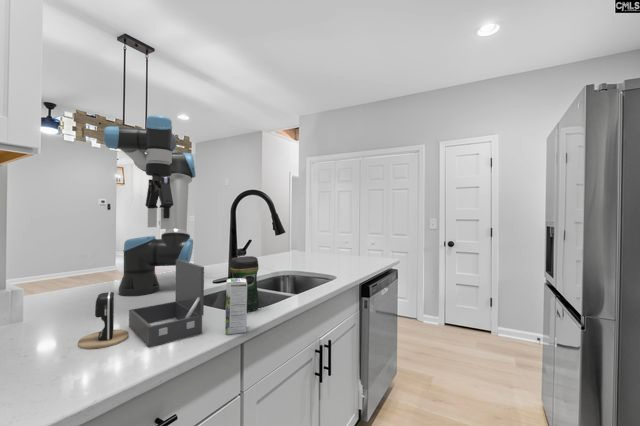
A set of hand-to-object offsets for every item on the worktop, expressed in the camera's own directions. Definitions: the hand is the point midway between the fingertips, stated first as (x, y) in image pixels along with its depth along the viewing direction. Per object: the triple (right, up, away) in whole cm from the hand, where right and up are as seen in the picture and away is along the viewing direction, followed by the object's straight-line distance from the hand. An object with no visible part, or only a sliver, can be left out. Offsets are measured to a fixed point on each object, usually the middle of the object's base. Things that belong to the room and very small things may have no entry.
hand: (158, 228), depth 105 cm
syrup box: (+29, -29, -13) cm, 43 cm away
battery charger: (-3, -28, -21) cm, 35 cm away
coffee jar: (+27, -29, +7) cm, 40 cm away
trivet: (-3, -29, -21) cm, 36 cm away
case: (+9, -29, -14) cm, 33 cm away
